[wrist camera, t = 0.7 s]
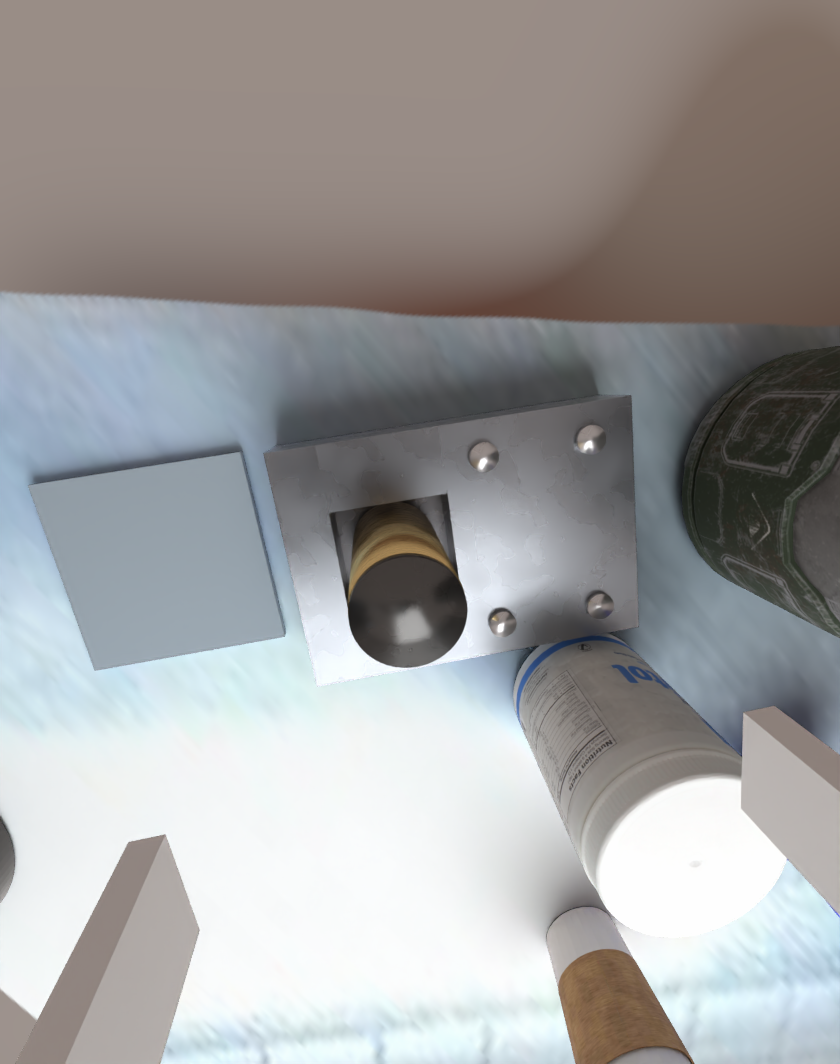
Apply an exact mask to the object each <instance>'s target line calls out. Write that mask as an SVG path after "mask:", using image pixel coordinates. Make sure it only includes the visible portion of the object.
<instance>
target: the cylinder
mask: <svg viewBox="0 0 840 1064" xmlns="http://www.w3.org/2000/svg"><path fill="white" fill-rule="evenodd" d="M467 612H468V609H467V600H466V596H465V592H464V589H463V586H462V584H461V582H460V580H459V578H458V576H457V574H456V572H455V570H454V568H453V566H452V564H451V562H450V560H449V558H448V556H447V554H446V552H445V550H444V548H443V546H442V544H441V542H440V540H439V538H438V536H437V534H436V532H435V530H434V528H433V526H432V524H431V522H430V520H429V519H428V518H427V516H426V515H425V514H424V513H423V512H422V511H420V510H419V509H418V508H416V507H414V506H412V505H410V504H407V503H402V502H392V503H386V504H380V505H377V506H375V507H374V508H372V509H370V510H369V511H368V512H367V513H366V514H364V515H363V517H362V518H361V519H360V521H359V522H358V524H357V526H356V528H355V532H354V536H353V546H352V558H351V570H350V582H349V595H348V619H349V626H350V629H351V633H352V635H353V637H354V639H355V641H356V642H357V644H358V645H359V647H360V648H361V649H362V650H363V651H364V652H365V653H366V654H367V655H368V656H370V657H371V658H373V659H374V660H376V661H378V662H380V663H383V664H385V665H388V666H393V667H399V668H412V667H419V666H423V665H426V664H429V663H432V662H434V661H435V660H437V659H439V658H441V657H442V656H444V655H445V654H446V653H447V652H449V651H450V650H451V649H452V648H453V646H454V645H455V644H456V643H457V641H458V640H459V638H460V637H461V635H462V633H463V631H464V628H465V625H466V620H467Z"/></svg>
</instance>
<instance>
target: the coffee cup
mask: <svg viewBox="0 0 840 1064" xmlns="http://www.w3.org/2000/svg"><path fill="white" fill-rule="evenodd" d="M546 940H547V947H548V951H549V955H550V959H551V963H552V966H553V970H554V974H555V978H556V982H557V986H558V990H559V996H560V1000H561V1004H562V1009H563V1013H564V1017H565V1021H566V1025H567V1030H568V1034H569V1038H570V1042H571V1046H572V1051H573V1055H574V1059H575V1063H576V1064H694V1062H693V1060H692V1058H691V1057H690V1055H689V1053H688V1051H687V1050H686V1048H685V1046H684V1045H683V1043H682V1041H681V1039H680V1038H679V1036H678V1034H677V1032H676V1031H675V1029H674V1027H673V1026H672V1024H671V1022H670V1020H669V1019H668V1017H667V1015H666V1013H665V1012H664V1010H663V1008H662V1006H661V1005H660V1003H659V1001H658V1000H657V998H656V996H655V994H654V993H653V991H652V989H651V987H650V986H649V984H648V982H647V980H646V979H645V977H644V975H643V974H642V972H641V970H640V968H639V967H638V965H637V963H636V962H635V960H634V959H633V957H632V955H631V953H630V952H629V950H628V948H627V946H626V944H625V942H624V941H623V939H622V937H621V935H620V933H619V932H618V930H617V928H616V926H615V924H614V923H613V921H612V919H611V918H610V916H609V915H608V914H607V913H606V912H604V911H602V910H600V909H598V908H594V907H579V908H575V909H572V910H569V911H567V912H565V913H564V914H562V915H561V916H559V917H558V918H557V919H556V920H555V921H554V922H553V923H552V925H551V926H550V928H549V930H548V933H547V938H546Z"/></svg>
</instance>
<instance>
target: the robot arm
mask: <svg viewBox="0 0 840 1064" xmlns="http://www.w3.org/2000/svg"><path fill="white" fill-rule="evenodd" d="M741 809H742V810H743V811H744V812H745V813H746V815H747V816H748V817H749V818H750V819H751V820H752V821H753V822H754V823H755V824H756V825H757V826H758V828H759V829H760V830H761V831H762V832H763V833H764V834H765V835H766V836H767V837H768V838H769V840H770V841H771V842H772V843H773V844H774V845H775V846H776V847H777V848H778V849H779V850H780V851H781V853H782V854H783V855H784V856H785V857H786V858H787V859H788V860H789V861H790V862H791V863H792V864H793V866H794V867H795V868H796V869H797V870H798V871H799V872H800V873H801V874H802V875H803V876H804V878H805V879H806V880H807V881H808V882H809V883H810V884H811V885H812V886H813V887H814V888H815V889H816V891H817V892H818V893H819V894H820V895H821V896H822V897H823V898H824V899H825V900H826V901H827V902H828V904H829V905H830V906H831V907H832V908H833V909H834V910H835V911H836V912H837V913H838V914H839V916H840V755H839V754H838V753H836V752H835V751H834V750H832V749H831V748H830V747H828V746H827V745H826V744H824V743H823V742H822V741H820V740H819V739H818V738H817V737H815V736H814V735H813V734H811V733H810V732H809V731H807V730H806V729H805V728H803V727H802V726H801V725H799V724H798V723H797V722H795V721H794V720H793V719H791V718H790V717H789V716H787V715H786V714H785V713H783V712H782V711H781V710H779V709H778V708H777V707H775V706H771V707H766V708H761V709H756V710H752V711H747V712H743V742H742V780H741ZM14 867H15V859H14V851H13V846H12V843H11V840H10V837H9V835H8V833H7V831H6V829H5V827H4V825H3V824H2V822H1V820H0V903H1V901H2V900H3V898H4V897H5V895H6V894H7V892H8V890H9V888H10V885H11V882H12V879H13V875H14ZM199 931H200V930H199V927H198V924H197V921H196V919H195V916H194V913H193V910H192V907H191V905H190V902H189V899H188V896H187V893H186V891H185V888H184V885H183V882H182V879H181V877H180V874H179V871H178V868H177V866H176V863H175V860H174V857H173V854H172V852H171V849H170V846H169V843H168V840H167V838H166V835H160V836H156V837H151V838H146V839H141V840H137V841H132V842H128V844H127V846H126V848H125V850H124V852H123V854H122V856H121V858H120V860H119V862H118V864H117V866H116V868H115V870H114V872H113V874H112V876H111V878H110V880H109V882H108V883H107V885H106V887H105V889H104V891H103V893H102V895H101V897H100V899H99V901H98V903H97V905H96V907H95V909H94V911H93V913H92V915H91V917H90V919H89V921H88V923H87V924H86V926H85V928H84V930H83V932H82V934H81V936H80V938H79V940H78V942H77V944H76V946H75V948H74V950H73V952H72V954H71V956H70V958H69V960H68V962H67V964H66V965H65V967H64V969H63V971H62V973H61V975H60V977H59V979H58V981H57V983H56V985H55V987H54V989H53V991H52V993H51V995H50V997H49V999H48V1001H47V1003H46V1005H45V1007H44V1008H43V1010H42V1012H41V1014H40V1016H39V1018H38V1020H37V1022H36V1024H35V1026H34V1028H33V1030H32V1032H31V1034H30V1036H29V1038H28V1040H27V1042H26V1044H25V1046H24V1048H23V1049H22V1051H21V1053H20V1055H19V1057H18V1059H17V1061H16V1063H15V1064H160V1063H161V1059H162V1056H163V1052H164V1049H165V1046H166V1042H167V1039H168V1036H169V1032H170V1029H171V1025H172V1022H173V1019H174V1015H175V1012H176V1008H177V1005H178V1002H179V998H180V995H181V992H182V988H183V985H184V981H185V978H186V975H187V971H188V968H189V965H190V961H191V958H192V954H193V951H194V948H195V944H196V941H197V937H198V934H199Z"/></svg>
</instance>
